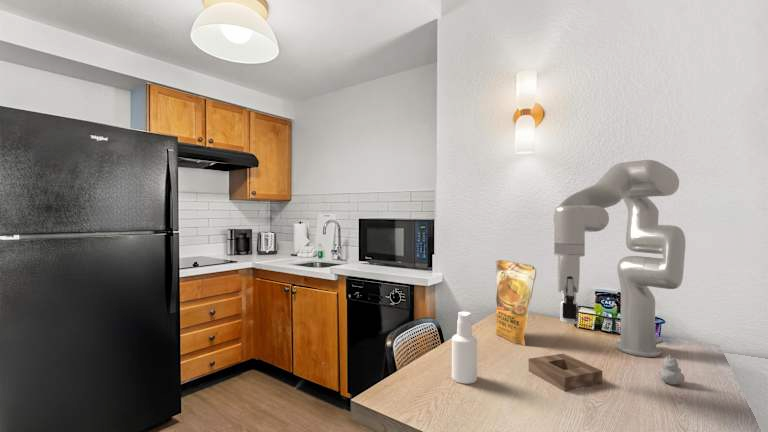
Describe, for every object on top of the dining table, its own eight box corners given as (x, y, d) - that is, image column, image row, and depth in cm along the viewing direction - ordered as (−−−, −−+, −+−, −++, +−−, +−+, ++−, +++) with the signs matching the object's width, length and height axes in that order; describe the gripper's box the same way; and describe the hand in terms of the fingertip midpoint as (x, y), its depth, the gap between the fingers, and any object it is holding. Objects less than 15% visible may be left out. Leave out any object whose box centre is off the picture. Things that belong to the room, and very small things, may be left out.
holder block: (563, 365, 109) (563, 353, 109) (602, 383, 96) (602, 370, 96) (528, 370, 104) (528, 358, 104) (564, 391, 92) (564, 377, 92)
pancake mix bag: (502, 329, 143) (502, 259, 143) (537, 345, 125) (538, 265, 125) (488, 331, 141) (488, 259, 141) (522, 347, 123) (522, 265, 123)
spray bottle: (477, 375, 101) (478, 311, 101) (475, 386, 95) (476, 317, 95) (453, 371, 103) (453, 309, 103) (449, 382, 97) (450, 315, 97)
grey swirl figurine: (653, 381, 98) (653, 351, 98) (667, 376, 101) (667, 348, 101) (676, 389, 93) (676, 358, 94) (690, 384, 96) (690, 354, 96)
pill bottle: (580, 324, 97) (580, 296, 97) (562, 324, 98) (563, 295, 98) (574, 320, 102) (575, 292, 102) (558, 319, 102) (558, 292, 102)
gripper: (553, 247, 109) (553, 307, 109) (554, 252, 94) (554, 322, 94) (582, 248, 106) (581, 310, 106) (587, 253, 91) (587, 326, 91)
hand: (569, 315), depth 100 cm, fingers closed on pill bottle, 4 cm apart
